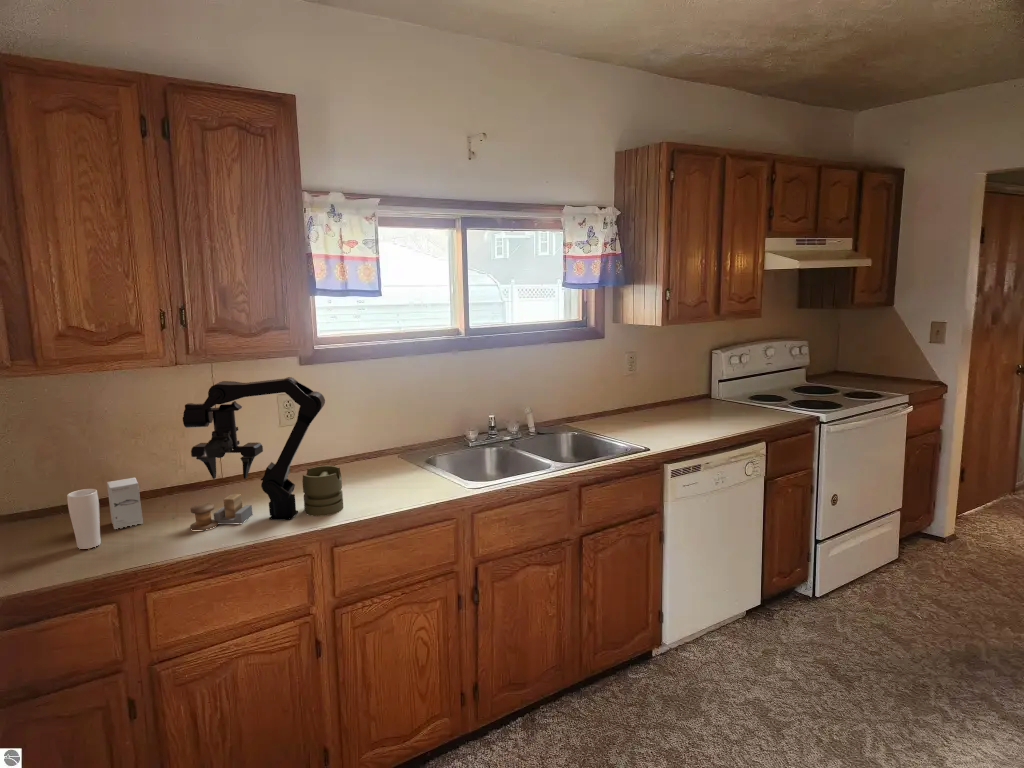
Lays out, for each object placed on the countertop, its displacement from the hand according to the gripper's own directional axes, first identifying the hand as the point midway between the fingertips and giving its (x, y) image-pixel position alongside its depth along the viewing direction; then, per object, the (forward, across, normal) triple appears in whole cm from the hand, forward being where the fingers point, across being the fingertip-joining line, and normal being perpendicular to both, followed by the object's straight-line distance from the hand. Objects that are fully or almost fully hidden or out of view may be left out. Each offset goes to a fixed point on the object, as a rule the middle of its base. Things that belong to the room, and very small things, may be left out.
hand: (229, 478), depth 190 cm
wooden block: (+11, 0, +1) cm, 11 cm away
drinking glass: (+13, -30, -20) cm, 38 cm away
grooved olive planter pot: (+13, +24, +8) cm, 28 cm away
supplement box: (+13, -30, -4) cm, 33 cm away
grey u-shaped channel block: (+12, 0, 0) cm, 12 cm away
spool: (+12, -6, -6) cm, 15 cm away
